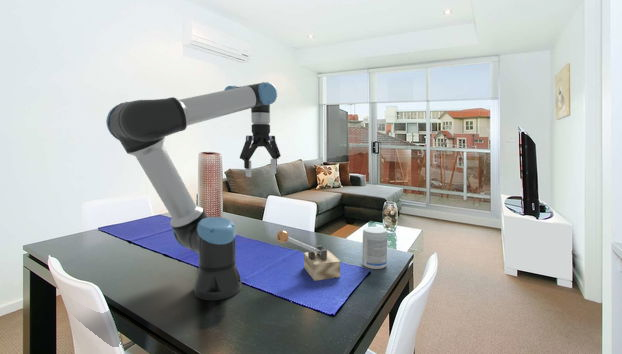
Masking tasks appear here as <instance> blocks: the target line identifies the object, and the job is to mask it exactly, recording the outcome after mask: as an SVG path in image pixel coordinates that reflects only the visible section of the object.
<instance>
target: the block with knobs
mask: <svg viewBox="0 0 622 354" xmlns="http://www.w3.org/2000/svg"><path fill="white" fill-rule="evenodd" d="M316 249H318V250H319V249H322V250H321V256H320V255H319V254H318V253H315V252H313V251H310V250H308V251H306V252H304V253H303V268H304V270H305V271H306V272H307V273H308V275H309V276H310V277H311V279H312V280H313V281H314V282H317V281H322V280H329V279H335V277H336V278H340V277H341V260H340V259H339V258H337V256H335V255H334V253H332V252H331V251H330V250H328V249H326V248H325V249H323V245H322V244H319V245H316Z"/></svg>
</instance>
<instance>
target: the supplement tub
mask: <svg viewBox="0 0 622 354" xmlns="http://www.w3.org/2000/svg"><path fill="white" fill-rule="evenodd" d="M387 262H388V230H387V229H386V228H385V227H381V226H366V227H364V228H363V231H362V265H363V266H364V267H366V268H368V269H371V270H381V269H384V268H386V266H387Z"/></svg>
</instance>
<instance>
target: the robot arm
mask: <svg viewBox="0 0 622 354" xmlns="http://www.w3.org/2000/svg"><path fill="white" fill-rule="evenodd" d="M277 91H278V90H277V88H276V86H275V85H274V84H273V83H272V82H269V81H267V82H264V81H263V82H260V83H253V84H247V85H243V86H236V85H227V86H226V87H225V88H224V90H221V91H216V92H210V93H205V94H201V95H195V96H190V97H187V98H182V99H178V98H176V97H174V96H172V97H168V98H160V99H157V98H155V99H137V100H133V101H125V102H121V103H119V104H116V105H115V106H113V107H112V108H111V109H110V110H109V112H108V114H107V116H106V121H105V122H106V128H107V129H108V132H109V134H110V135H112V137H114V138H115V139H116V140H117V141H119V142H120V143H121V146H122V147H123V148H124V150H125V152H126V154H127V155H131V156H134V157H135V158H136V160H137V162H139V163H138V164H139V165H140V166H141V168H142V170H143V171H144V173H145V175H146V176H147V178H148V180H149V181H150V183H151V185H152V187H153V188H154V190H155V191H156V194H157V195H158V197H159V198H160V200H161V202H162V203H163V206H164V207H165V208H166V210H167V211H168V213H169V215H170V216H171V220H170V224H169V225H170V227H171V228H172V235H173V237H174V239H175V241H176V242H177V243H178V244H179V245H180V246H182V247H184V248H186V249H188V250H191V251H192V252H195V253H196V254H198V267H199V268H198V272H197V275H196V279H195V282H194V285H193V288H194V289H193V292H194V295H195V297H196V298H197V299H200V300H204V301H221V300H224V299H225V300H226V299H228V298H231V297H233V296H235V295H237V294H238V293H239V292H240V291H241V290H242V288H243V287H242V279H241V276H240V273H239V270H238V268H237V266H236V265H237V264H236V263H237V262H236V261H237V260H236V235H237V234H236V229H235V223H234V222H233V221H232V220H230V219H228V218H226V217H219V216H209V217H208V215H207V214H206V212H205V210H204V209H203V207H202V206H200V205H197V204H196V203H195V201H194V199H193V197H192V195H191V193H190V192H189V190H188V188H187V187H186V184H185V183H184V181H183V179H182V177H181V176H180V174H179V172H178V170H177V168H176V166H175V164H174V162H173V160H172V159H171V157H170V155H169V153H168V151H167V149H166V148H165V145H164V142H165V139H166V137H168V136H171V135H173V134H175V133H179V132H183V131H186V129H188V128H187V127H188V126H191V125H194V124H199V123H202V122H205V121H209V120H212V119H217V118H220V117H224V116H229V115H232V114H235V113H238V112H242V111H245V110H249V109H250V111H251V115H250V116H251V123H252V124H251V133H252V135H245V141H244V144H243V148H242V150H241V152H240V155H239V159H241V160H242V161H243V162H244V163H243V165H244V166H243V167H244V170H245V177H248V178H252V160H251V158H252V157H253V156H254V153H255V152H256V151H257V148H260V147H261V148H262V147H264V148H265V149H266V151H267V152H268V154H269V156H270V157H271V158H270V174H271V175H272V174H273V175H276V174H277V166H278V159H280V158H281V156H282V155H281V152H280V149H279V147H278V145H277V141H276V136H275V135H270V133H271V125H270V123H271V108H270V107H271V105H273V104H274V103H275V102H276V100H277V97H278V92H277Z"/></svg>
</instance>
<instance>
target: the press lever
mask: <svg viewBox="0 0 622 354" xmlns="http://www.w3.org/2000/svg"><path fill="white" fill-rule="evenodd" d="M276 240H277V242H279V243H280V244H284V243H287V242H289V243H291V244H294V245H296V246H299V247H301V248H304V249H305V250H308V251H313V252H315V253H318V254H319V255H320V256H321V250H323V248H322V249H319V250H318V249H317V247H314V246H311V245H309V244H306V243H305V242H301V241H299V240H297V239H294V238H292V237H290V236H289V233H288V231H286V230H280V231H278V232H277V233H276Z"/></svg>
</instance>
